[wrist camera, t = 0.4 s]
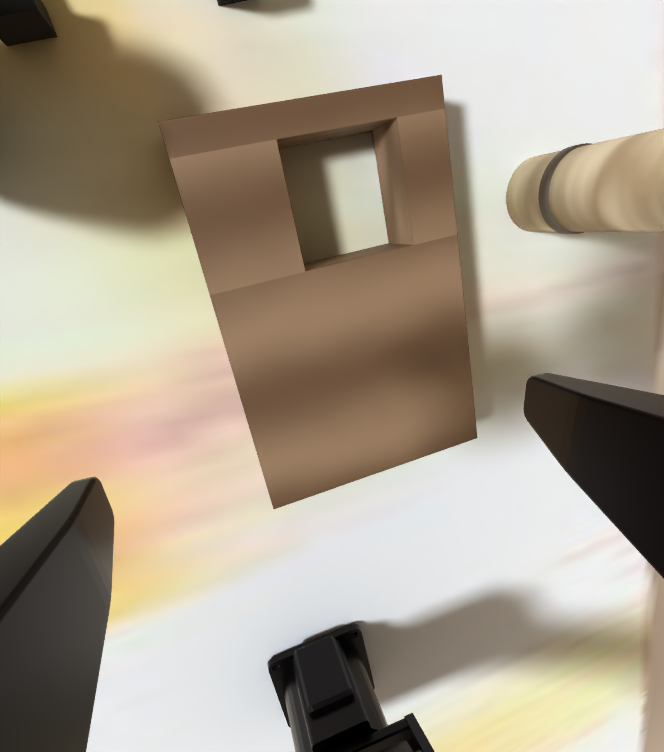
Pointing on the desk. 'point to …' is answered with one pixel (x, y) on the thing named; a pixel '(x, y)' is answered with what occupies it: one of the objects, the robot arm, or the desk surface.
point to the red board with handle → (33, 21)
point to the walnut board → (333, 287)
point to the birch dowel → (592, 187)
